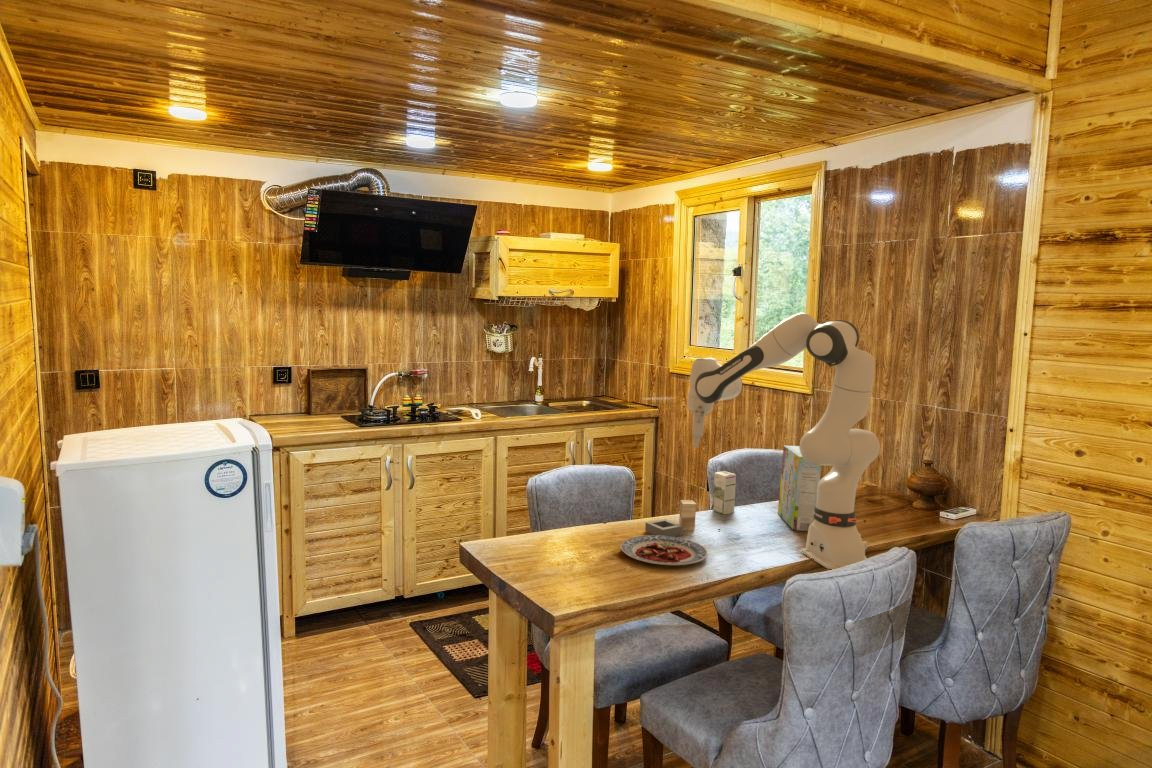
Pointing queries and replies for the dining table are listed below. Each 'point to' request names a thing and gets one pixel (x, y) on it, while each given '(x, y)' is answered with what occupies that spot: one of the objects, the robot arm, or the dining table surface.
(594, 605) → the dining table surface
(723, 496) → the syrup box
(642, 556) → the ceramic plate
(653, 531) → the square collar
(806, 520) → the snack box
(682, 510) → the oak peg
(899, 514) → the dining table surface
